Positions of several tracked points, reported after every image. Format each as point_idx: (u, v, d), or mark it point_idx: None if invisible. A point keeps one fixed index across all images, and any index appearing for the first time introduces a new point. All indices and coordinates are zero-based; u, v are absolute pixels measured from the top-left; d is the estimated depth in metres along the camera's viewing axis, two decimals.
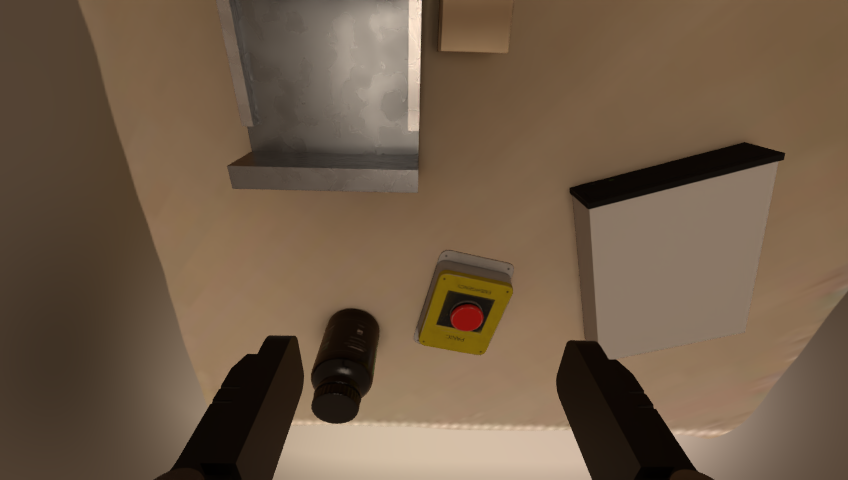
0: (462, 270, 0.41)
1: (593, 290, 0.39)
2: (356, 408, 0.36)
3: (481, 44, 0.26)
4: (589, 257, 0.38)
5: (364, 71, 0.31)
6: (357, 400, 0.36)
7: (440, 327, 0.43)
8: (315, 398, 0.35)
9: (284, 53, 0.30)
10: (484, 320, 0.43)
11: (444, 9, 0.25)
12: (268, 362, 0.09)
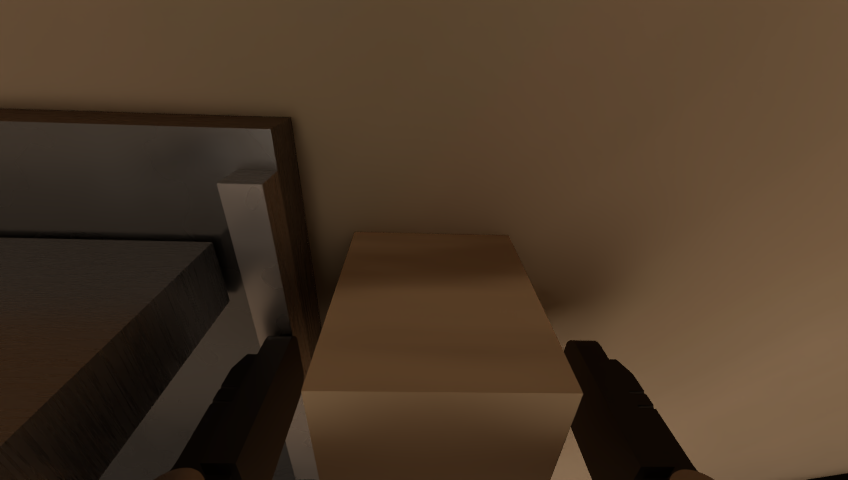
0: None
1: None
2: None
3: None
4: None
5: (187, 407, 0.13)
6: None
7: None
8: None
9: None
10: None
11: (322, 466, 0.07)
12: (268, 362, 0.09)
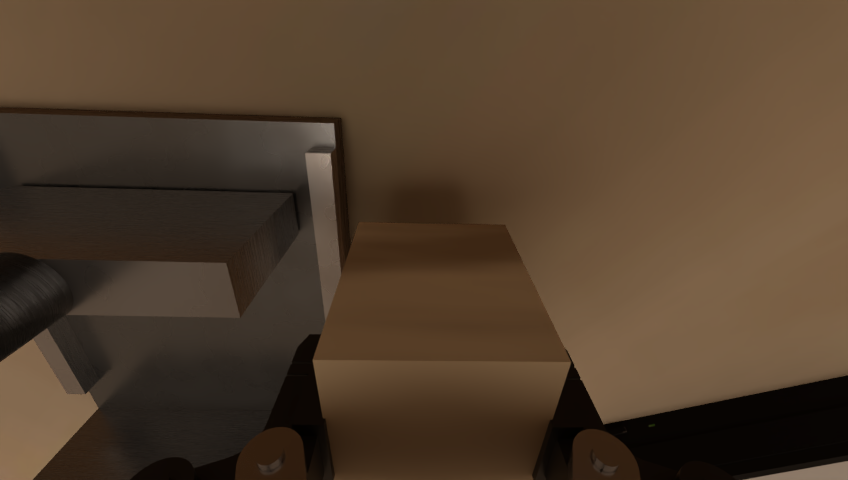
0: None
1: None
2: None
3: None
4: None
5: (258, 319, 0.19)
6: None
7: None
8: None
9: None
10: None
11: (331, 435, 0.08)
12: None
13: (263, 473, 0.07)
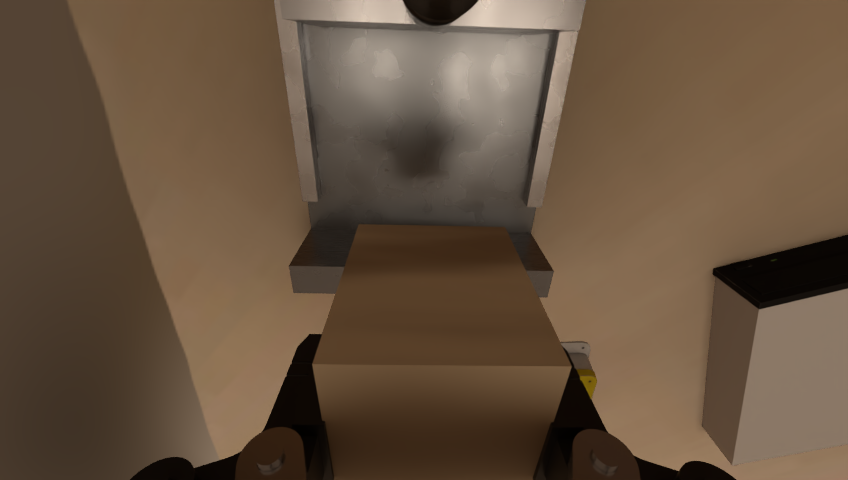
0: None
1: (740, 392, 0.31)
2: None
3: None
4: (742, 357, 0.29)
5: (475, 129, 0.22)
6: None
7: None
8: None
9: (367, 106, 0.21)
10: None
11: (331, 439, 0.08)
12: None
13: (263, 473, 0.07)
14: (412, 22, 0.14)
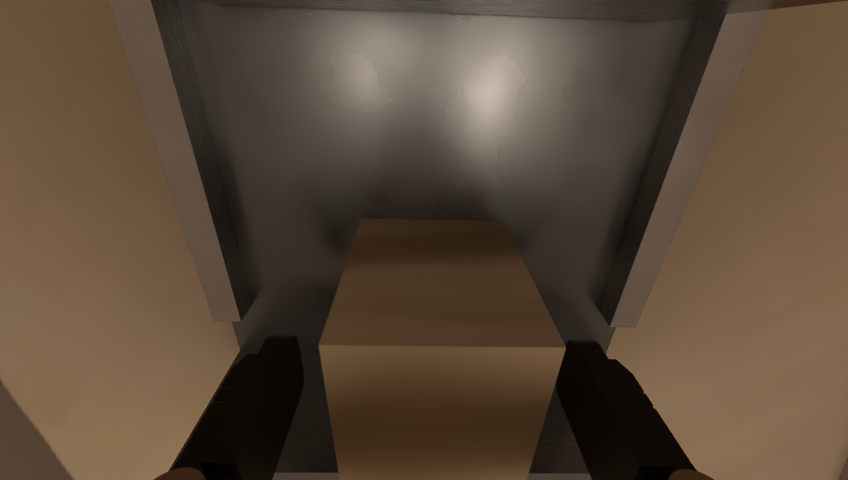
0: None
1: None
2: None
3: (452, 471, 0.09)
4: None
5: (524, 199, 0.12)
6: None
7: None
8: None
9: (323, 160, 0.11)
10: None
11: (335, 420, 0.08)
12: (268, 362, 0.09)
13: None
14: None
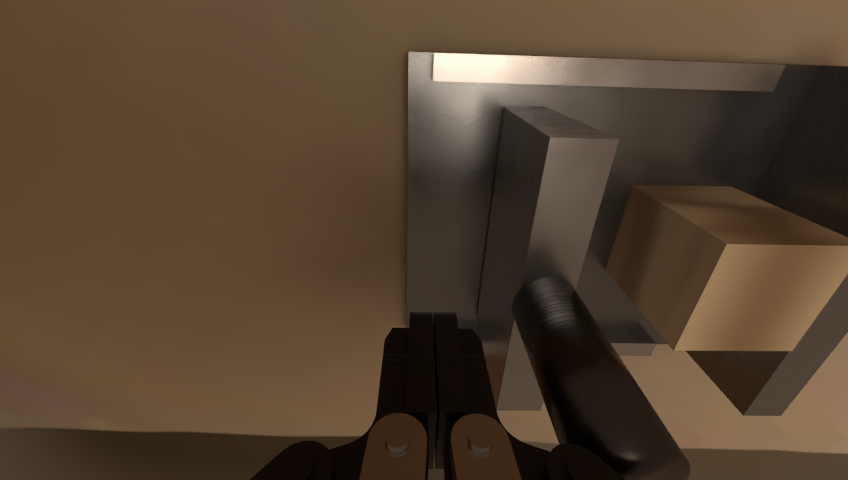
0: None
1: None
2: None
3: (820, 293, 0.13)
4: None
5: (619, 172, 0.17)
6: None
7: None
8: None
9: None
10: None
11: (731, 348, 0.14)
12: (422, 333, 0.10)
13: (395, 456, 0.07)
14: None
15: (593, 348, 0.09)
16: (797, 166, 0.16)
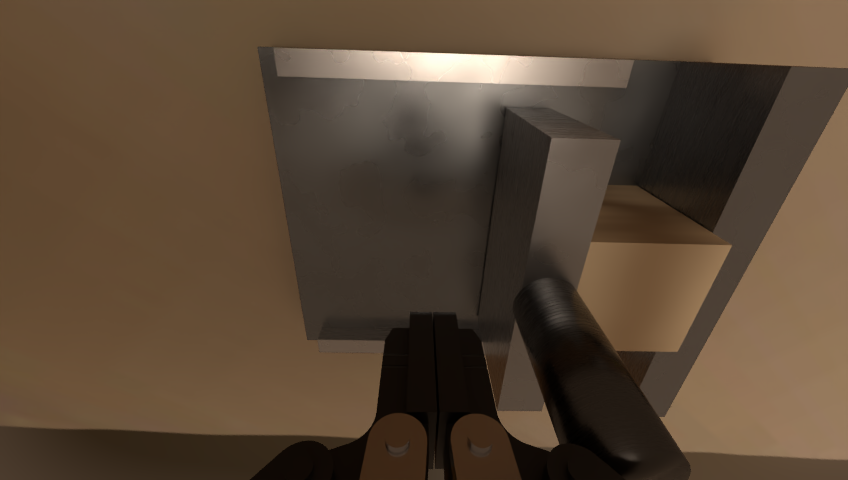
0: None
1: None
2: None
3: (693, 293, 0.13)
4: None
5: (493, 170, 0.17)
6: None
7: None
8: None
9: (458, 284, 0.20)
10: None
11: (615, 348, 0.14)
12: (422, 333, 0.10)
13: (395, 456, 0.07)
14: None
15: (594, 349, 0.09)
16: (663, 163, 0.16)
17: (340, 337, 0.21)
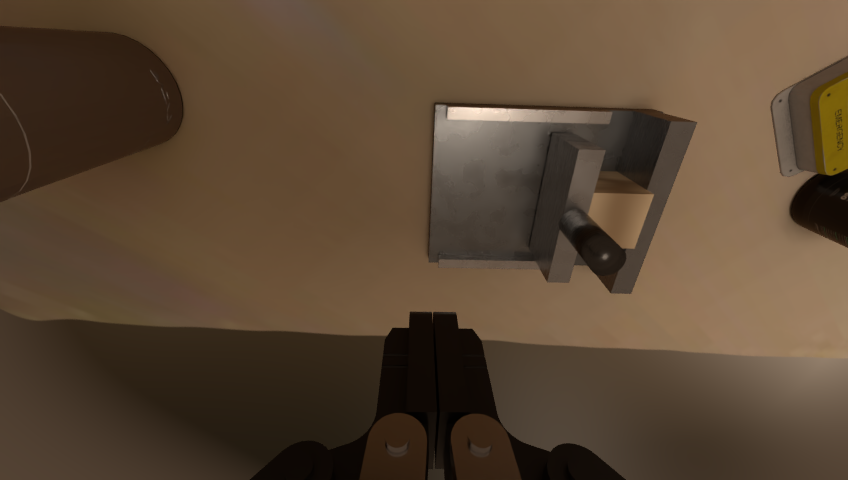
0: (809, 153, 0.33)
1: None
2: None
3: (639, 217, 0.29)
4: None
5: (542, 163, 0.33)
6: None
7: None
8: None
9: (518, 227, 0.36)
10: None
11: None
12: (422, 333, 0.10)
13: (395, 456, 0.07)
14: None
15: (595, 227, 0.25)
16: (628, 160, 0.32)
17: (450, 258, 0.37)
